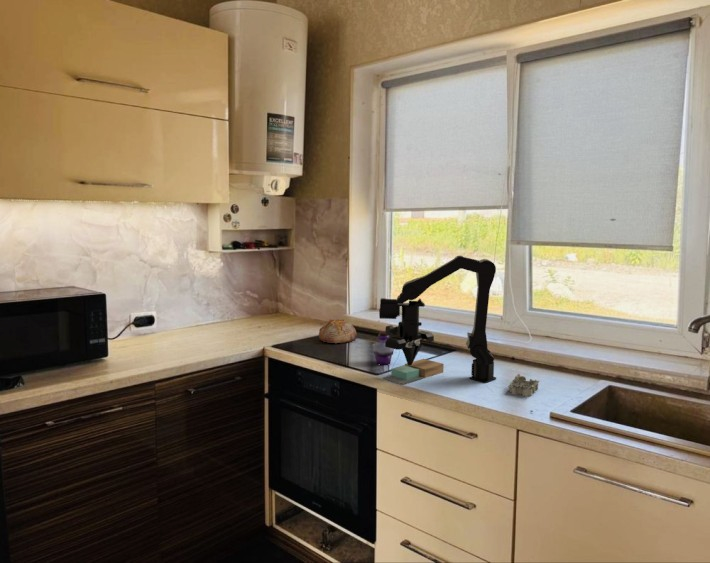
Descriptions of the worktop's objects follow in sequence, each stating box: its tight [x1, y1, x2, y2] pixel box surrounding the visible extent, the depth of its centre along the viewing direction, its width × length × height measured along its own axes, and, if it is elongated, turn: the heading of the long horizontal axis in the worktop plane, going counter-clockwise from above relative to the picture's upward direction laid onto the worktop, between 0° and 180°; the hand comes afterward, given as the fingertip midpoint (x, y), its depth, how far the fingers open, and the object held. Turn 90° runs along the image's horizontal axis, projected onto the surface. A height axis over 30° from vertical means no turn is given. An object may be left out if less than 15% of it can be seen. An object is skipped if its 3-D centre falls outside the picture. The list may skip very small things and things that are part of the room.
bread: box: [318, 319, 357, 345], centre depth 239 cm, size 16×20×10 cm
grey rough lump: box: [508, 373, 540, 397], centre depth 170 cm, size 11×8×4 cm
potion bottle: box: [372, 330, 395, 366], centre depth 200 cm, size 9×9×12 cm
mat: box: [382, 375, 424, 386], centre depth 182 cm, size 9×10×1 cm
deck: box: [404, 358, 444, 379], centre depth 190 cm, size 9×10×3 cm
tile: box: [390, 364, 419, 380], centre depth 184 cm, size 7×6×2 cm
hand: (409, 364), depth 184 cm, fingers closed
